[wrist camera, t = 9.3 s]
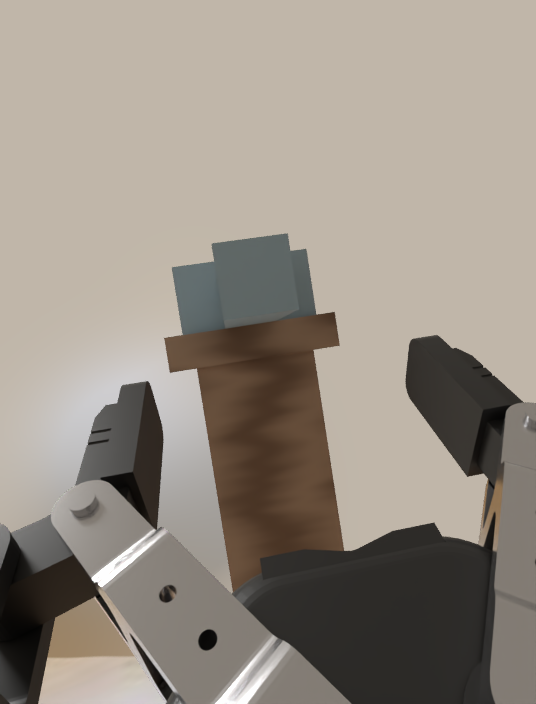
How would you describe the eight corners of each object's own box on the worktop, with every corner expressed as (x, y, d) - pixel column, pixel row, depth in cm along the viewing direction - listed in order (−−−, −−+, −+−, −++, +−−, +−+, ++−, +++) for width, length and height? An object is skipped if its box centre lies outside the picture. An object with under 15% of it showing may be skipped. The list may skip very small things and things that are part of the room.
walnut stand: (365, 691, 34) (308, 320, 33) (408, 798, 26) (334, 312, 25) (242, 720, 33) (180, 339, 32) (246, 840, 25) (164, 338, 24)
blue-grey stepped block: (297, 321, 32) (289, 269, 32) (360, 299, 17) (345, 200, 17) (192, 337, 32) (184, 284, 32) (159, 330, 16) (142, 226, 16)
